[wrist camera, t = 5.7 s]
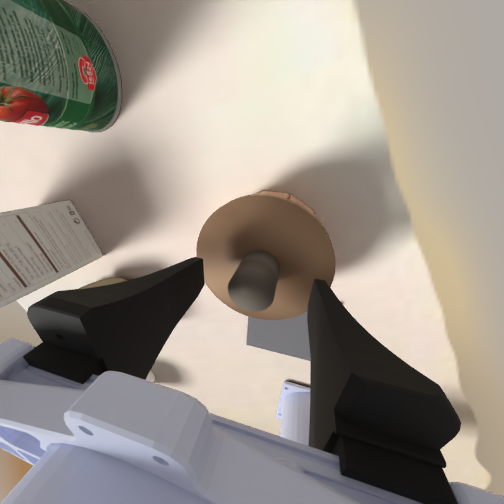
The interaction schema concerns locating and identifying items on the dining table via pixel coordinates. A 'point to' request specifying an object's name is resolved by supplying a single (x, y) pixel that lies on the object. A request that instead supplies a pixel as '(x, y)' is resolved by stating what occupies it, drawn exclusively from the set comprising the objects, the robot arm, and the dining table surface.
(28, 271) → the supplement box
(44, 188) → the dining table surface
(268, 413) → the dining table surface
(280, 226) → the walnut lid
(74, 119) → the canned tomato
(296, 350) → the charcoal mat
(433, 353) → the dining table surface
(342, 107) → the dining table surface
